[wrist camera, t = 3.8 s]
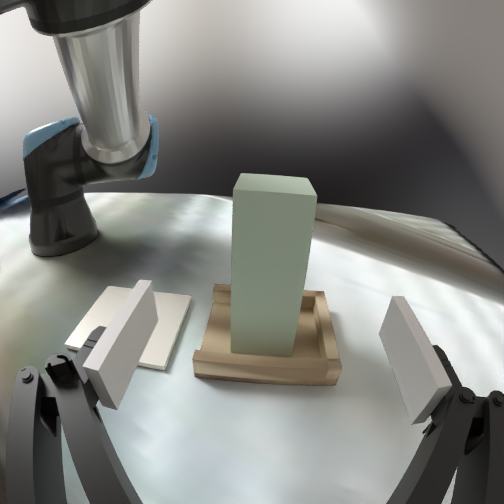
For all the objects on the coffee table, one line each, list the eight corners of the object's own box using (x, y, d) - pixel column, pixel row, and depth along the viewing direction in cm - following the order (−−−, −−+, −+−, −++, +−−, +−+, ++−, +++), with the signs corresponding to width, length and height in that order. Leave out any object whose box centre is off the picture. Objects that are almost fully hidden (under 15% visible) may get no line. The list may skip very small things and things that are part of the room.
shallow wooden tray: (215, 300, 36) (215, 284, 35) (320, 307, 36) (323, 291, 35) (194, 376, 25) (192, 359, 24) (335, 384, 25) (341, 368, 24)
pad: (109, 289, 37) (108, 285, 36) (191, 299, 36) (191, 295, 36) (66, 347, 26) (64, 343, 26) (165, 370, 26) (164, 366, 25)
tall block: (236, 314, 33) (241, 173, 26) (289, 318, 33) (307, 178, 26) (230, 352, 28) (233, 189, 21) (291, 356, 28) (317, 195, 20)
